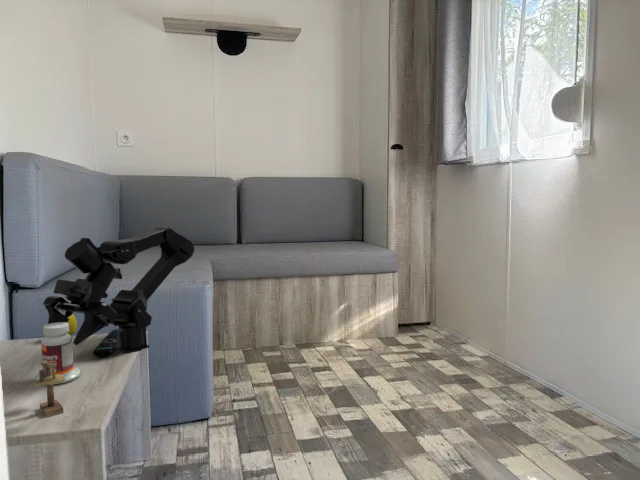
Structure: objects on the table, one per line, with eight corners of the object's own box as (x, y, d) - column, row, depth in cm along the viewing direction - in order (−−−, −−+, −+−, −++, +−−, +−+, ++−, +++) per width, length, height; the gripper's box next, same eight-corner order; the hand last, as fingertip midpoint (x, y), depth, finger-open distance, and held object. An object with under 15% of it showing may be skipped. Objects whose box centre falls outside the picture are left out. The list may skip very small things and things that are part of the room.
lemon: (56, 342, 144) (54, 314, 143) (56, 337, 149) (54, 310, 148) (78, 339, 146) (76, 312, 145) (77, 334, 151) (75, 307, 150)
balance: (34, 403, 104) (30, 353, 103) (54, 398, 107) (50, 349, 105) (48, 423, 96) (45, 368, 95) (69, 417, 98) (66, 364, 97)
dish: (73, 368, 124) (73, 363, 124) (85, 379, 117) (85, 374, 117) (31, 377, 118) (31, 373, 118) (41, 389, 111) (41, 384, 111)
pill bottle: (37, 377, 115) (33, 328, 114) (56, 367, 121) (52, 320, 120) (61, 379, 114) (58, 329, 113) (79, 369, 120) (76, 322, 119)
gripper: (46, 262, 124) (6, 319, 115) (104, 267, 116) (66, 329, 108) (76, 288, 132) (41, 343, 124) (132, 294, 125) (98, 353, 116)
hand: (60, 341), depth 118 cm, fingers open, 9 cm apart
